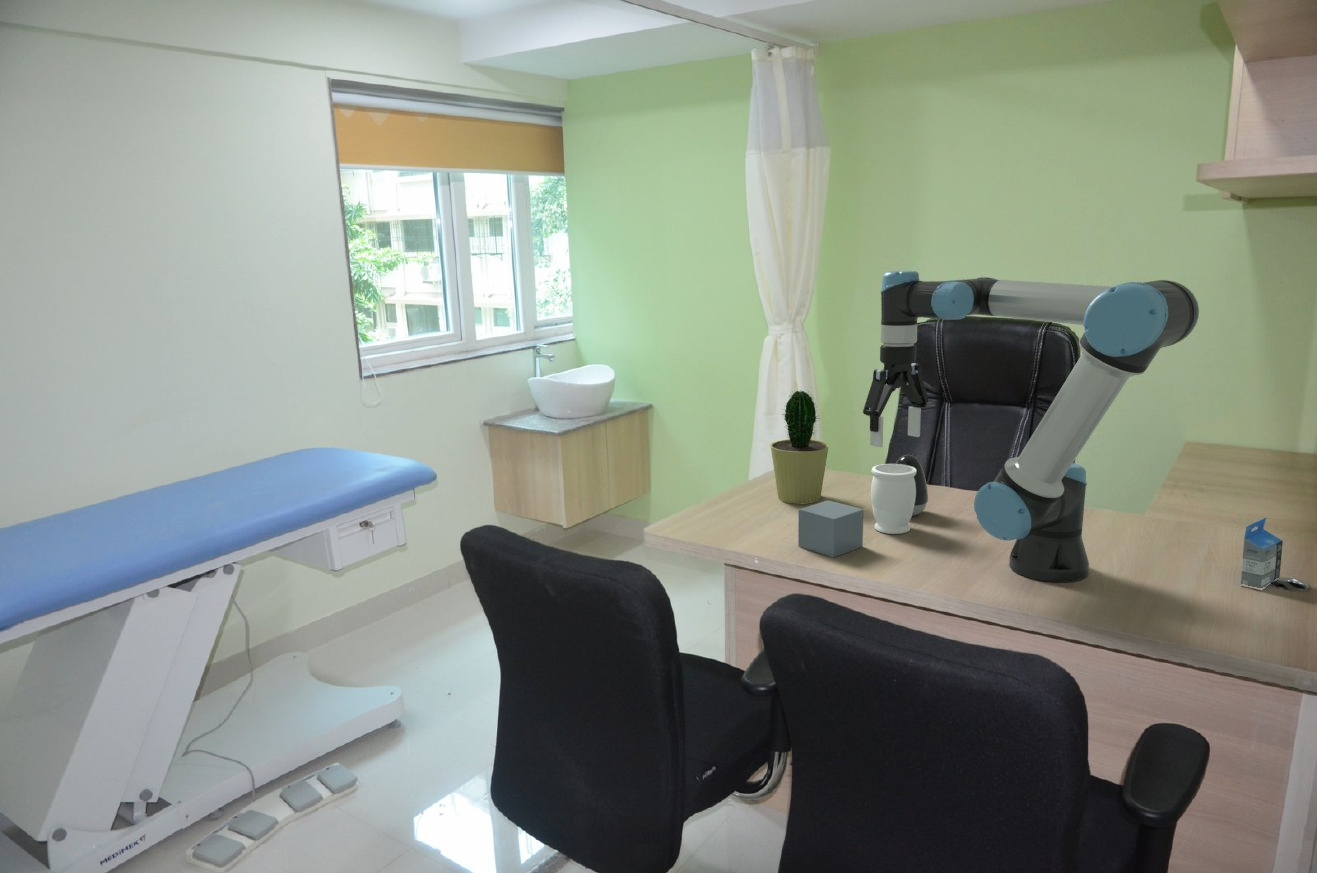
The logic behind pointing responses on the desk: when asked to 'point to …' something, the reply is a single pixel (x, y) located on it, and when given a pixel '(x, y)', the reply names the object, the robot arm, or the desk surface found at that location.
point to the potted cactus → (799, 453)
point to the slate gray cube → (830, 528)
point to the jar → (893, 497)
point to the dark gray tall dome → (917, 482)
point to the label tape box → (1260, 556)
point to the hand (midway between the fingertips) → (895, 441)
